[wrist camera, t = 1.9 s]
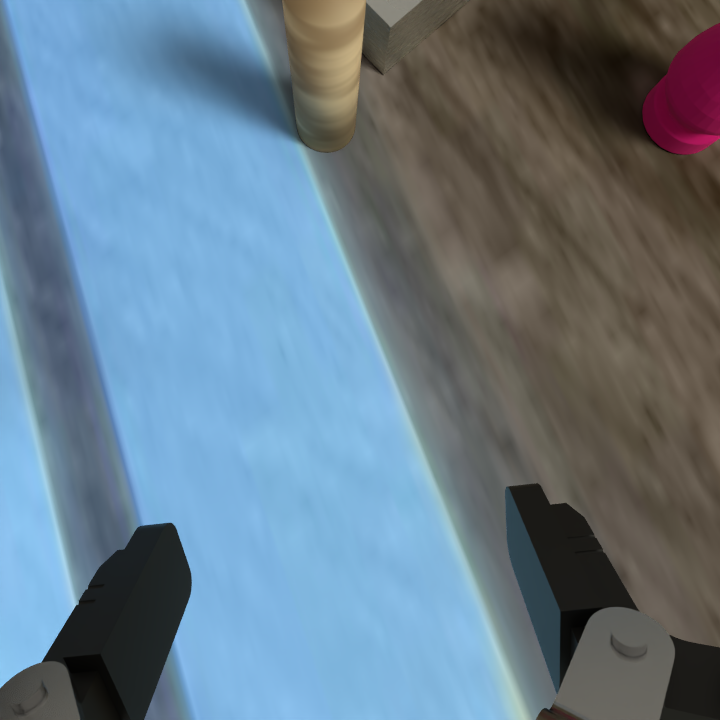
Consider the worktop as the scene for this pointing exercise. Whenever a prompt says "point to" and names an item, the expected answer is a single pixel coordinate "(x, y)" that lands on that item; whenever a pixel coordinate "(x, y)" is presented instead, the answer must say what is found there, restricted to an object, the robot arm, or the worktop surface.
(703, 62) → the pepper mill
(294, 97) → the peg
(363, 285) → the worktop surface
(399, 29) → the white square frame block
